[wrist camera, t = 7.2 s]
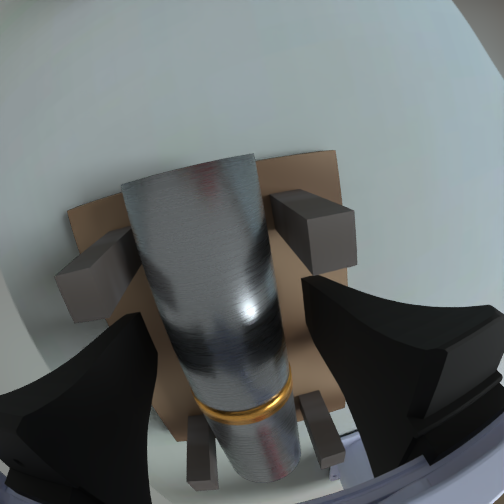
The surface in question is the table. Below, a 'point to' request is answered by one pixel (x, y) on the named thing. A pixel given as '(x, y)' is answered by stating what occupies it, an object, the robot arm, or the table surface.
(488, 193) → the table surface
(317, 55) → the table surface
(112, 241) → the collar stand
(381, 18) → the table surface
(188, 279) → the silver metal cylinder
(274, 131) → the table surface
